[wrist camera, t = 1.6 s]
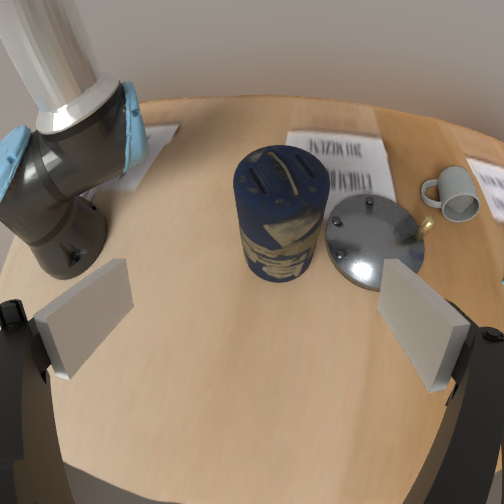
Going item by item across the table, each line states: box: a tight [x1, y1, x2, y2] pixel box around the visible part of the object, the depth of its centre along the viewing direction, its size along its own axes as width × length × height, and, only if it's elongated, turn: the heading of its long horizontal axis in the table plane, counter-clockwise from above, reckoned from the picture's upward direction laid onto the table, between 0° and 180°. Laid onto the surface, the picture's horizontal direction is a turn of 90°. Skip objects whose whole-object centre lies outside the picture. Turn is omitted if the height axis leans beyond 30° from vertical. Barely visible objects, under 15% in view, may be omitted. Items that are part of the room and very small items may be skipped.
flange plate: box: [325, 195, 435, 292], centre depth 39 cm, size 16×16×6 cm
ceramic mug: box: [421, 166, 480, 222], centre depth 41 cm, size 11×8×8 cm
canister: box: [233, 145, 330, 283], centre depth 34 cm, size 10×10×18 cm
